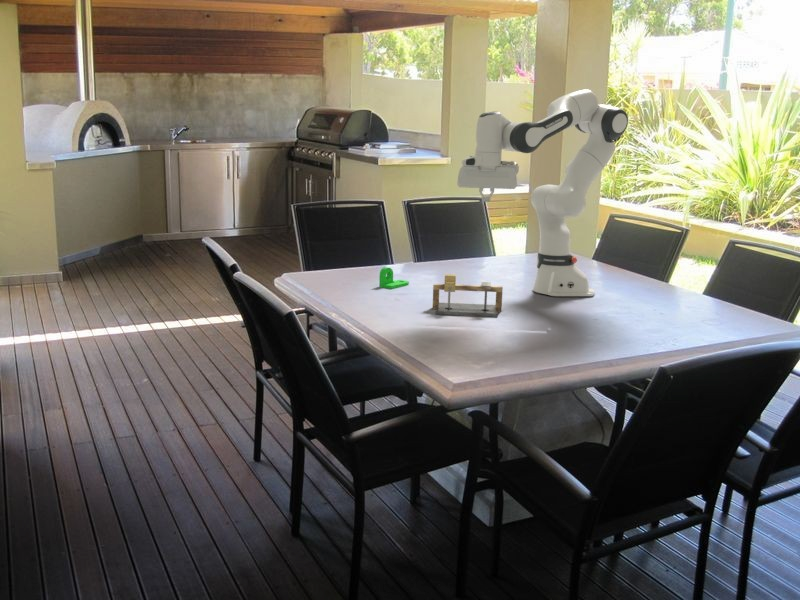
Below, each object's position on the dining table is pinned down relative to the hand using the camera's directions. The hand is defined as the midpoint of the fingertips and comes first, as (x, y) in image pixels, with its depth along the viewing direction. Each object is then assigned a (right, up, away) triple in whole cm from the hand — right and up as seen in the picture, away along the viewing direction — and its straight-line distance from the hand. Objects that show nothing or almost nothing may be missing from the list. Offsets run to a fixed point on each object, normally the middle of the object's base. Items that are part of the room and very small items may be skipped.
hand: (486, 201), depth 288 cm
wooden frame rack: (-7, -37, -7) cm, 39 cm away
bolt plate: (-7, -37, -8) cm, 39 cm away
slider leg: (-13, -35, -6) cm, 38 cm away
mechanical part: (-31, -29, +30) cm, 52 cm away
